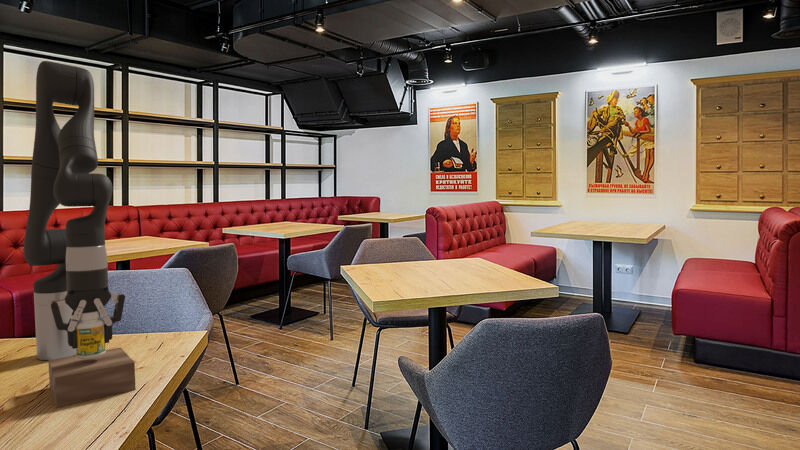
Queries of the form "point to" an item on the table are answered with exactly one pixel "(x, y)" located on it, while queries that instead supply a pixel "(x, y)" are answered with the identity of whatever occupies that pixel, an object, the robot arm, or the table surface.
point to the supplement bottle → (90, 336)
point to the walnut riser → (91, 377)
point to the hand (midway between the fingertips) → (90, 344)
